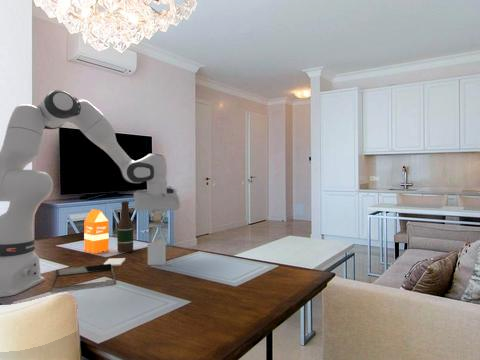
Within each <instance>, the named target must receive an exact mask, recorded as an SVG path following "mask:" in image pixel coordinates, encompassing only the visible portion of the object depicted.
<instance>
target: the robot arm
mask: <svg viewBox="0 0 480 360" xmlns="http://www.w3.org/2000/svg"><path fill="white" fill-rule="evenodd" d="M66 123H71V124H73V125H74V126H76V127H77V128H78V129H79V130H80V132H81V133H82V134H83V135H84V136H85V137H86V138H87V139H88V140H90V142H92V143H93V144H94V145H96V146H97V147H99V148H100V149H101V150H103V151H104V152H105V153H106V154H107V155H108V156H109V157H110V159H111V160H113V162H114V163H115V164H116V165H117V167H118V168H119V171H120V173H121V176H122V178H123V179H124V180H125V181H126V182H128V183H131V184H141V183H145V182H146V189H137V190H136V191H135V190H134V192H133V199H134V206H133V207H134V210H135V211H137V212H139V211H140V212H143V211H144V212H145V211H148V215H149V217H150V221H154V214H152V213H153V211H163V215H162V216H161V220H162V221H165V216H166V214H167V211H175V210H176V211H179V210H180V209H181V201H180V196H179V194H178V189H177V188H176V187H173V186H169V185H168V181H167V175H168V169H167V167H168V166H167V161H166V157H165V156H164V155H163V154H158V153H148V154H147V155H145V156H144V157H142V158H140V159H137V160H134V159H132V158H131V157H130V156H129V155H128V154H127V152H125V150H124V149H123V148H122V146H120V144H119V143H118V141H117V137H116V132H115V129H114V127H113V125H112V124H111V123H110V121H109V120H108V118H106V116H105V115H104V114H103V113H102V112H101V110H99V109H98V108H97V107H96V106H94V105H93V104H92V103H91V102H89V101H88V100H86V99H78V98H77V97H75V96H73V95H72V94H71V93H69V92H67V91H65V90H61V89H56V90H53V91H50V92H49V93H48V94H46V95H45V97H44V98H43V99H42V100H41V102H40V103H39V104H38V105H33V104H27V103H23V104H22V103H21V104H19V105H17V106H16V107H15V108H14V109H13V111H12V113H11V115H10V118H9V121H8V124H7V127H6V130H5V135H4V139H3V143H2V146H1V148H0V202H9V205H8V208H7V210H6V212H5V213H3V214H1V215H0V298H2V297H9V296H14V295H18V294H20V293H22V292H24V291H25V290H28V289H30V288H32V287H34V286H36V285H39V284H40V283H42V282H45V280H46V278H45V277H44V276H43V275H42V274H41V265H40V264H41V263H40V257H39V256H38V255H37V254H36V252H35V250H36V240H35V238H34V228H35V227H34V224H35V223H34V221H35V215H36V214H37V213H36V212H37V211H38V209H39V207H40V205H41V204H42V203H43V202H44V201H45V200H47V199H48V198H49V197H50V195H51V194H52V192H53V190H54V182H53V181H54V180H53V179H52V177H51V175H50V174H49V173H47V172H46V171H41V170H38V169H37V170H35V169H24V168H25V167H26V166H28V165H29V164H31V163H32V162H34V161H35V160H36V159H37V158H38V157H39V155H40V151H41V146H42V140H43V135H44V130H57V129H59V128H61V127H62V126H64V124H66Z"/></svg>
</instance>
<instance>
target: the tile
mask: <svg viewBox="0 0 480 360" xmlns="http://www.w3.org/2000/svg"><path fill="white" fill-rule="evenodd" d="M166 251H167V250H166V241H164V242H163V241H161V242H160V241H159V242H156V241H155V242H148V243H147V266H166V265H167V264H166V263H167V262H166V259H167V258H166V254H167V253H166Z"/></svg>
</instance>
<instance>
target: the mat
mask: <svg viewBox="0 0 480 360" xmlns="http://www.w3.org/2000/svg"><path fill="white" fill-rule="evenodd" d="M125 261H126V257H122V258H120V257H118V258H116V257H115V258H107V260H106V261H105V262H104V263H103V264H111V265H112V267H118V266H122V265H123V264H124V262H125Z"/></svg>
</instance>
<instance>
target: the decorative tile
mask: <svg viewBox="0 0 480 360" xmlns="http://www.w3.org/2000/svg"><path fill="white" fill-rule="evenodd" d="M102 270H103V271H111V274H112V276H113V278H112V279H107V280H105V281H103V280H102V281H97V282H87V283H80V284H72V285H64V286H54V284H55V281H56V279H57V276H63V275H75V274H76V275H77V274H83V273H92V272H93V273H94V272H103V271H102ZM54 273H55V274H54V276H53V279H52V284H51V286H50V292H49V293H55V292H56V293H57V292H64V291H70V290H79V289H80V288H81V289H87V288H88V287H89V288H96V286H98V287H104V286H103V285H106V286H112V285H111V284H114V285H116V284H115V283H116V275H115V272H114V269H113V266H112V265H111V264H104V263H102V264H96V265H88V266H80V267H70V268H62V269H61V268H60V269H56V270H55V272H54ZM114 279H115V280H114ZM89 288H88V289H89Z"/></svg>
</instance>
